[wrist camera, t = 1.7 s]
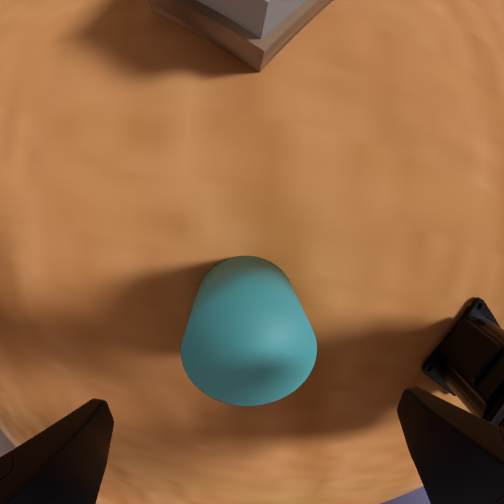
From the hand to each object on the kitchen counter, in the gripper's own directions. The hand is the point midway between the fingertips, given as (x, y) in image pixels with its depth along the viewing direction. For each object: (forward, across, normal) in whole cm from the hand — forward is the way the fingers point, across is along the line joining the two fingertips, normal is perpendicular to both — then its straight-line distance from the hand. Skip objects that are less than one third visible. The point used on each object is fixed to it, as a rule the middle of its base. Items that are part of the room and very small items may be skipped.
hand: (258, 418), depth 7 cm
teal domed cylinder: (+8, 0, 0) cm, 8 cm away
